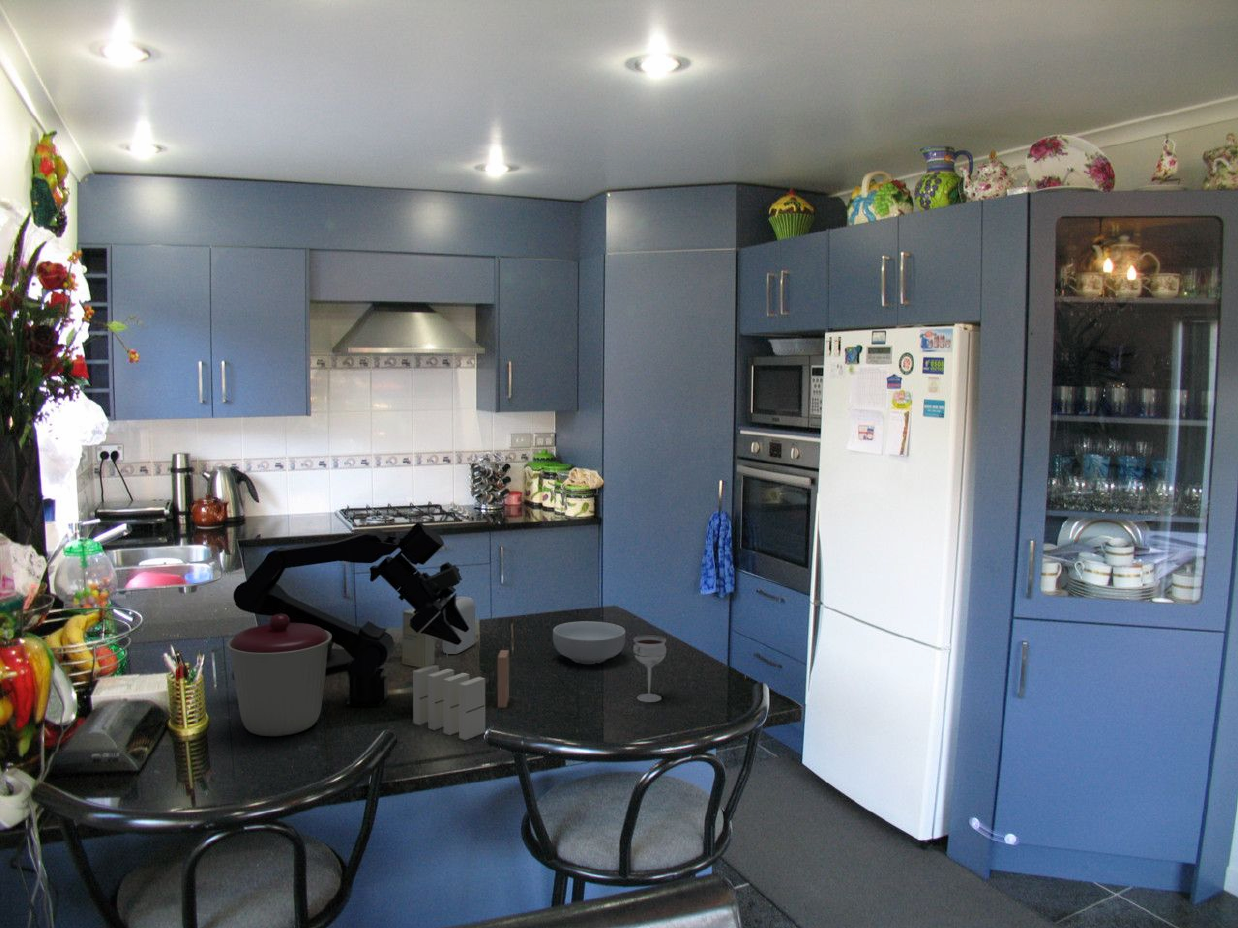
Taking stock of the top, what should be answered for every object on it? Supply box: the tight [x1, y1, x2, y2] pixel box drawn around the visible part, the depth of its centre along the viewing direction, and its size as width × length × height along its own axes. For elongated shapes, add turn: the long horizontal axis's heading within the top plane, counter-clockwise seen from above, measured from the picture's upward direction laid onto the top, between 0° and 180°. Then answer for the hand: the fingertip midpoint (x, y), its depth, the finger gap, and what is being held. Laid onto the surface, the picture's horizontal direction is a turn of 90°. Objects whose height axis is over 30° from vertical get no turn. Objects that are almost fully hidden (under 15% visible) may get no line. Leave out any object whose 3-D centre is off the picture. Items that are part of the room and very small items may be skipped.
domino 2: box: [427, 668, 455, 731], centre depth 176 cm, size 2×5×10 cm, turn 144°
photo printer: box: [442, 596, 476, 655], centre depth 225 cm, size 10×4×12 cm, turn 160°
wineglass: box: [632, 634, 668, 703], centre depth 193 cm, size 7×7×12 cm
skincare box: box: [401, 607, 436, 669], centre depth 213 cm, size 6×4×12 cm
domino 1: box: [412, 664, 440, 726], centre depth 179 cm, size 2×5×10 cm, turn 144°
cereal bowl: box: [552, 620, 626, 665], centre depth 219 cm, size 17×17×7 cm
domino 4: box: [458, 676, 486, 741], centre depth 172 cm, size 2×5×10 cm, turn 144°
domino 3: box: [442, 672, 470, 736], centre depth 174 cm, size 2×5×10 cm, turn 144°
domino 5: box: [497, 649, 510, 708], centre depth 189 cm, size 2×5×10 cm, turn 0°
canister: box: [225, 614, 332, 737], centre depth 174 cm, size 18×18×21 cm
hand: (463, 636), depth 188 cm, fingers open, 9 cm apart
